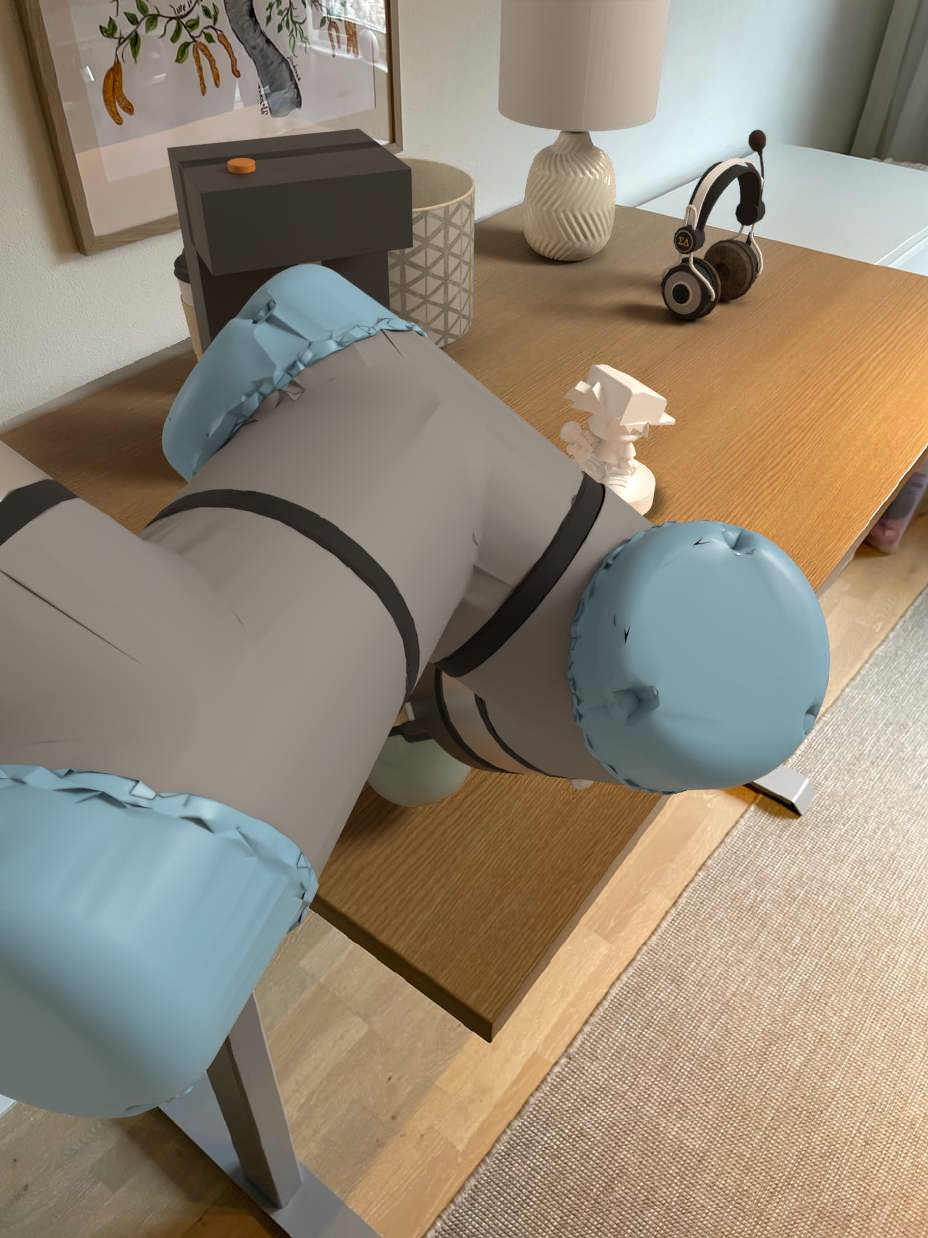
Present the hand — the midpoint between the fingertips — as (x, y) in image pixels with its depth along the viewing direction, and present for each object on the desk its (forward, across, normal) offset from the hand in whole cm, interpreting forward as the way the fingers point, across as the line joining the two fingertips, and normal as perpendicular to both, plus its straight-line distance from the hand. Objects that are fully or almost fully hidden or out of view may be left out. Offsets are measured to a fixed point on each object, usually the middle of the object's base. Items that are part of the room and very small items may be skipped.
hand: (395, 701), depth 62 cm
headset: (+43, +63, +35) cm, 84 cm away
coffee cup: (+46, +4, +37) cm, 59 cm away
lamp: (+60, +56, +52) cm, 97 cm away
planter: (+47, +22, +39) cm, 65 cm away
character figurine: (+20, +30, +12) cm, 38 cm away
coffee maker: (+28, +6, +20) cm, 35 cm away
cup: (0, 0, -5) cm, 5 cm away
